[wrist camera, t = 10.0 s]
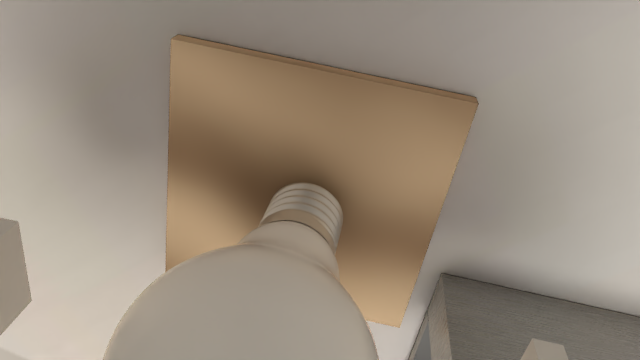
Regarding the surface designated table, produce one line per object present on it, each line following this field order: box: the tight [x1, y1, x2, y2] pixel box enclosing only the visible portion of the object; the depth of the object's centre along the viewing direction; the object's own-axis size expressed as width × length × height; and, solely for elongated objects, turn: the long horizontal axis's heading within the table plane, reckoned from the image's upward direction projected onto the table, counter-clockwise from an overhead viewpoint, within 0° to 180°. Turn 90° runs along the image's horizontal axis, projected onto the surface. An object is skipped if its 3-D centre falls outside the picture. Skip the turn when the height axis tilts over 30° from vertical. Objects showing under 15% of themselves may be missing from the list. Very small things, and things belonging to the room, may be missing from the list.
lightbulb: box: [103, 182, 379, 360], centre depth 14 cm, size 6×6×11 cm
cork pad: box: [166, 35, 478, 328], centre depth 19 cm, size 10×10×1 cm
